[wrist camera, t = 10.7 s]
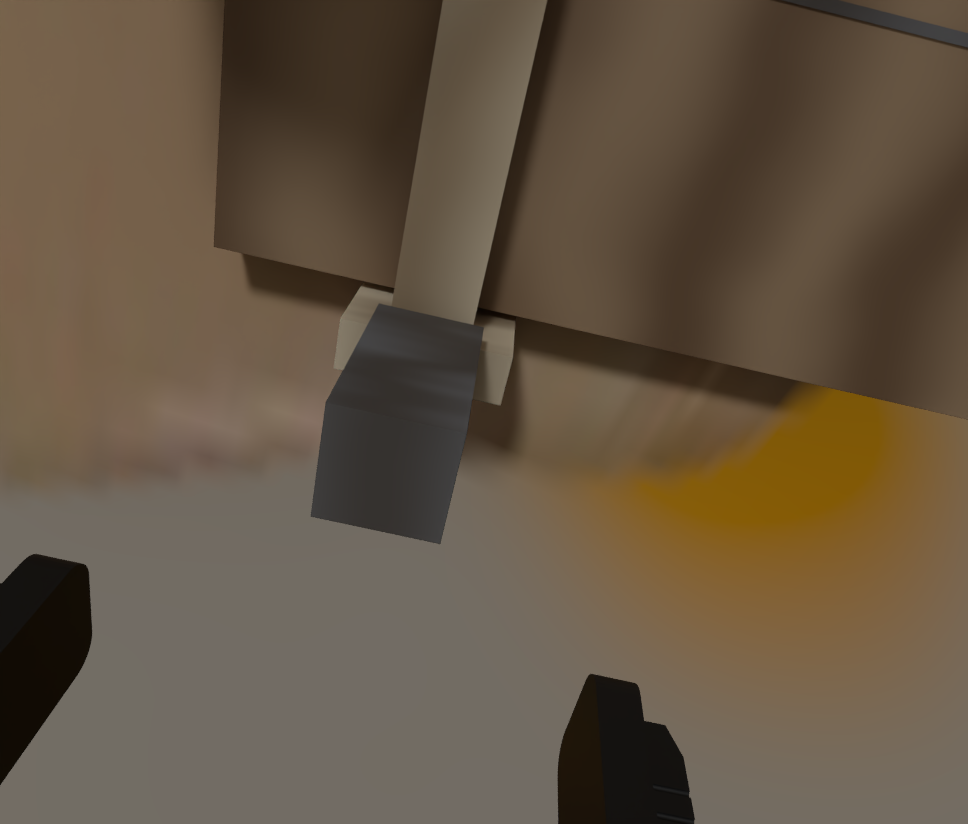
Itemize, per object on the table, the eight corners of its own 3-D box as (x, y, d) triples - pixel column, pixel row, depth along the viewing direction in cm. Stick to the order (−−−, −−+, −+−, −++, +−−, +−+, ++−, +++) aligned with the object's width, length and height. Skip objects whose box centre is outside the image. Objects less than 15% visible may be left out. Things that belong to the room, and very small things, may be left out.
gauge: (613, -73, 20) (675, -140, 11) (500, 369, 26) (483, 552, 17) (427, -121, 19) (337, -229, 11) (359, 337, 26) (266, 507, 17)
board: (1406, -28, 20) (1494, -32, 18) (1087, 426, 26) (1128, 457, 24) (270, -332, 18) (240, -370, 16) (236, 229, 25) (212, 247, 23)
